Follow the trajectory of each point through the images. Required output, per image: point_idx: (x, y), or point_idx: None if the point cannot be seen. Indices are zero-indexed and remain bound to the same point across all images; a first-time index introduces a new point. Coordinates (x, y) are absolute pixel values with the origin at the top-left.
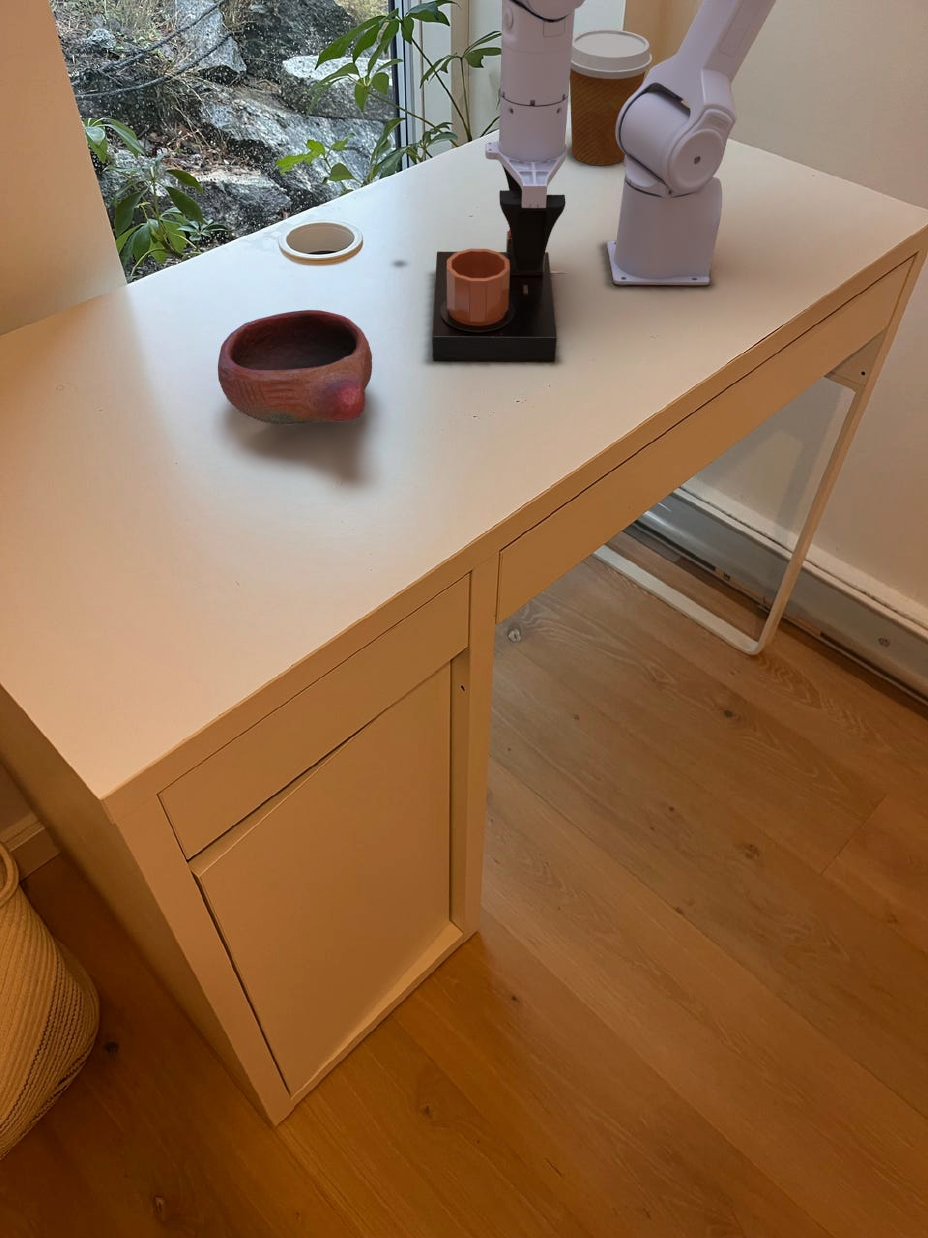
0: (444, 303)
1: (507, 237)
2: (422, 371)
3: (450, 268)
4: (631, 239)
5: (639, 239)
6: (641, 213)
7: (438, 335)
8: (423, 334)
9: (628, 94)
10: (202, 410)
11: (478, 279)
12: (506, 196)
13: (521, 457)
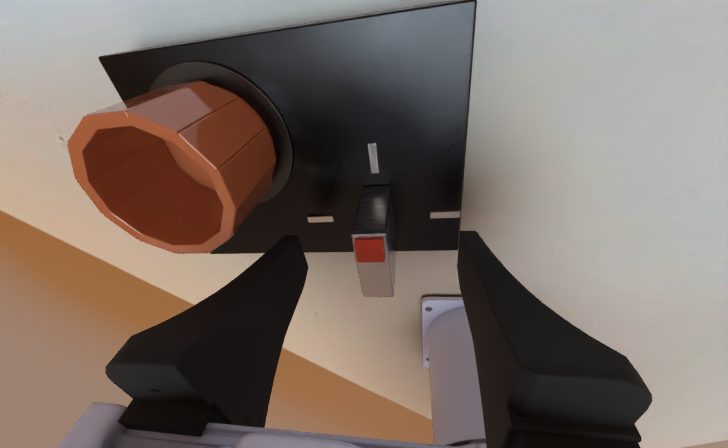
0: (214, 69)
1: (354, 235)
2: (101, 32)
3: (90, 126)
4: (446, 357)
5: (438, 366)
6: (443, 406)
7: (107, 71)
8: (211, 9)
9: None
10: None
11: (93, 198)
12: (146, 377)
13: (39, 196)
